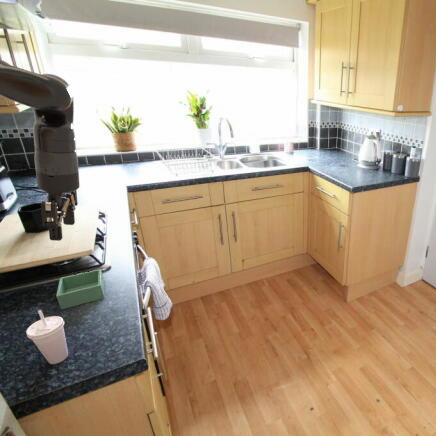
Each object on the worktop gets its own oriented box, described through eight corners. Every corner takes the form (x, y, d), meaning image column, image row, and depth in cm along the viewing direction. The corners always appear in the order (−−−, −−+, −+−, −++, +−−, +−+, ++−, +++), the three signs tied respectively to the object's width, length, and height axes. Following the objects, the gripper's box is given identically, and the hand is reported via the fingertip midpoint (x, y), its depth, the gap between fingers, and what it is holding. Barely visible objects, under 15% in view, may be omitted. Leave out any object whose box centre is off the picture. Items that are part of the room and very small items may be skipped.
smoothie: (48, 373, 70) (26, 324, 65) (35, 361, 73) (12, 313, 68) (80, 353, 76) (62, 306, 70) (67, 343, 78) (48, 297, 73)
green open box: (61, 309, 89) (56, 296, 88) (64, 290, 97) (59, 278, 95) (104, 297, 95) (100, 285, 93) (104, 280, 102) (100, 268, 100)
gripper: (49, 158, 77) (55, 218, 83) (21, 175, 65) (30, 245, 71) (87, 162, 80) (90, 220, 86) (66, 179, 68) (71, 246, 74)
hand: (63, 231), depth 78 cm, fingers open, 8 cm apart
